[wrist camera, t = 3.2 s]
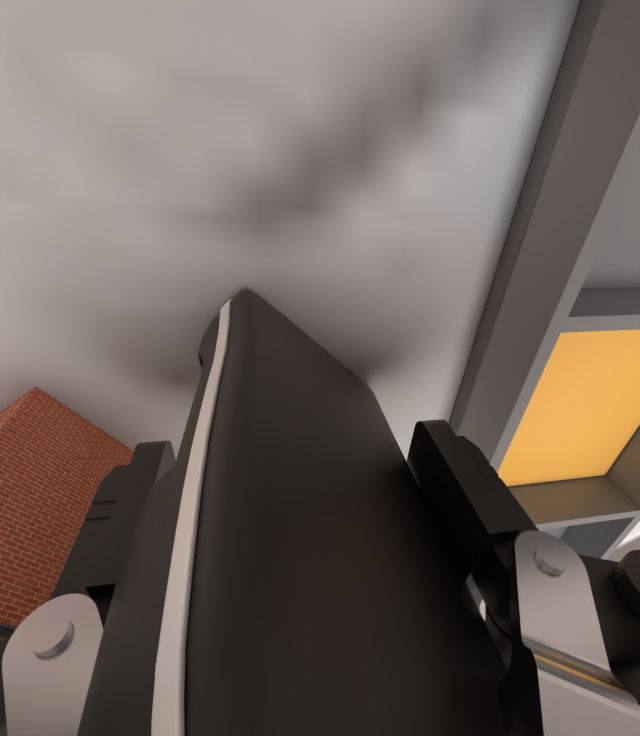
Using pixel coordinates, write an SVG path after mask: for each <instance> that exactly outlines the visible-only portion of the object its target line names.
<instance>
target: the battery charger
mask: <svg viewBox="0 0 640 736" xmlns="http://www.w3.org/2000/svg"><path fill="white" fill-rule="evenodd" d="M198 356H199V361H200V364H201V366H202V373H201V378H200V382H199V385H198V388H197V391H196V395H195V398H194V401H193V404H192V407H191V411H190V414H189V418H188V421H187V425H186V429H185V432H184V435H183V439H182V442H181V446H180V450H179V453H178V457H177V460H176V464H175V465H174V466H173V467H172V468H171V469H170V470H169V471H167V472H166V473H165V474H164V475H163V476H162V477H161V478H160V479H159V480H158V481H157V482H156V483H155V484H154V485H153V486H152V488H151V489H150V490H149V491H148V493H147V494H146V495H145V496H144V498H143V499H142V500H141V503H140V505H139V508H138V512H137V515H136V518H135V521H134V525H133V528H132V531H131V534H130V537H129V541H128V544H127V547H126V550H125V554H124V557H123V560H122V564H121V568H120V571H119V575H118V578H117V582H116V586H115V589H114V593H113V596H112V600H111V604H110V608H109V611H108V615H107V619H106V623H105V627H104V630H103V634H102V638H101V642H100V646H99V649H98V653H97V657H96V661H95V665H94V669H93V673H92V677H91V681H90V685H89V689H88V693H87V697H86V701H85V705H84V709H83V713H82V717H81V721H80V724H79V728H78V734H77V736H506V735H505V732H504V726H503V720H502V714H501V708H500V702H499V696H498V691H497V685H498V683H499V682H500V681H501V680H502V679H503V677H504V676H505V675H506V674H507V672H508V670H507V668H506V666H505V663H504V661H503V659H502V657H501V655H500V653H499V651H498V649H497V646H496V644H495V642H494V640H493V638H492V636H491V634H490V632H489V629H488V627H487V625H486V623H485V621H484V619H483V617H482V615H481V612H480V610H479V608H478V606H477V604H476V602H475V600H474V598H473V596H472V594H471V591H470V589H469V587H468V585H467V583H466V581H465V579H464V577H463V575H462V573H461V571H460V569H459V567H458V565H457V563H456V560H455V558H454V556H453V554H452V552H451V550H450V548H449V546H448V544H447V542H446V540H445V538H444V536H443V534H442V531H441V529H440V527H439V525H438V523H437V521H436V519H435V517H434V515H433V513H432V511H431V509H430V507H429V505H428V503H427V501H426V499H425V497H424V495H423V493H422V491H421V489H420V487H419V485H418V483H417V481H416V479H415V477H414V475H413V473H412V471H411V469H410V467H409V465H408V463H407V461H406V460H405V458H404V456H403V454H402V452H401V450H400V448H399V446H398V444H397V441H396V439H395V437H394V435H393V433H392V431H391V429H390V427H389V425H388V423H387V420H386V418H385V416H384V414H383V412H382V410H381V408H380V405H379V403H378V401H377V399H376V397H375V394H374V392H373V391H372V390H371V389H370V388H369V387H368V386H367V385H365V384H364V383H363V382H362V381H361V380H360V379H358V378H357V377H356V376H355V375H354V374H352V373H351V372H350V371H349V370H348V369H346V368H345V367H344V366H343V365H341V364H340V363H339V362H338V361H337V360H335V359H334V358H333V357H332V356H331V355H329V354H328V353H327V352H326V351H325V350H323V349H322V348H321V347H320V346H319V345H317V344H316V343H315V342H314V341H312V340H311V339H310V338H309V337H307V336H306V335H305V334H304V333H303V332H301V331H300V330H299V329H298V328H296V327H295V326H294V325H293V324H291V323H290V322H289V321H288V320H287V319H285V318H284V317H283V316H282V315H280V314H279V313H278V312H277V311H275V310H274V309H273V308H272V307H270V306H269V305H268V304H267V303H265V302H264V301H263V300H262V299H260V298H259V297H258V296H257V295H255V294H254V293H252V292H251V291H246V290H245V291H242V292H240V293H239V294H238V295H237V296H236V297H235V298H234V299H233V300H231V299H229V300H228V301H227V302H226V304H225V305H224V306H223V307H222V308H221V310H220V314H219V316H218V317H217V318H216V319H215V320H214V321H213V322H212V323H211V325H210V326H209V328H208V330H207V332H206V334H205V336H204V337H203V339H202V342H201V346H200V350H199V354H198Z"/></svg>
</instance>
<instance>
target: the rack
mask: <svg viewBox="0 0 640 736" xmlns="http://www.w3.org/2000/svg"><path fill="white" fill-rule="evenodd" d="M449 426H450V427H451V429H452V430H453V432H454V433H455V434H456V436H464V437H466V438H467V439H468V440H469V441H471V442H472V443H473V444H475V445H476V446H477V447H479V449H480V450H481V451H482V453H483V454H484V455H485V457H486V458H487V460H488V461H489V462H490V466H493V468H494V469H495V471H496V472H497V473H498V475H499V478H501V479H502V480H503V482H504V483H505V484H506V486H507V487H508V489H509V490H510V491H511V493H512V494H513V495H514V497H515V498H516V500H517V501H518V502H519V504H520V505H521V507H522V508H523V509H524V511H525V512H526V513H527V515H528V516H529V518H530V519H531V520H532V522H533V523H534V524H535V526H536V527H537V528H538V529H539V531H542V532H546V533H548V534H551V535H553V536H555V537H557V538H559V539H560V540H562V541H563V542H565V543H566V544H567V545H568V546H570V547H571V548H572V549H573V550H574V551H575V552H576V553H577V554H579V555H583V556H589V557H594V558H599V559H604V560H606V559H607V558H608V557H609V556H610V555H611V554H612V552H613V551H614V550H615V549H616V548H617V547H618V545H619V544H620V543H621V542H622V541H623V540H624V538H625V537H626V536H627V535H628V534H629V533H630V531H631V530H632V529H633V528H634V527H635V526H636V524H637V523H638V522H639V521H640V0H581V3H580V7H579V10H578V13H577V16H576V19H575V23H574V26H573V29H572V32H571V35H570V39H569V42H568V45H567V48H566V51H565V55H564V58H563V61H562V64H561V67H560V70H559V74H558V77H557V80H556V83H555V86H554V90H553V93H552V96H551V99H550V102H549V106H548V109H547V112H546V115H545V118H544V122H543V125H542V128H541V131H540V134H539V138H538V141H537V144H536V147H535V150H534V154H533V157H532V160H531V163H530V166H529V170H528V173H527V176H526V179H525V182H524V186H523V189H522V192H521V195H520V198H519V202H518V205H517V208H516V211H515V214H514V218H513V221H512V224H511V227H510V230H509V234H508V237H507V240H506V243H505V246H504V249H503V253H502V256H501V259H500V262H499V265H498V269H497V272H496V275H495V278H494V281H493V285H492V288H491V291H490V294H489V297H488V301H487V304H486V307H485V310H484V313H483V317H482V320H481V323H480V326H479V329H478V333H477V336H476V339H475V342H474V345H473V349H472V352H471V355H470V358H469V361H468V365H467V368H466V371H465V374H464V377H463V381H462V384H461V387H460V390H459V393H458V397H457V400H456V403H455V406H454V409H453V413H452V416H451V419H450V422H449ZM470 591H471V594H472V596H473V598H474V600H475V602H476V604H477V606H478V608H479V610H480V603H481V600H482V596H481V594H480V592H479V590H478V588H470Z"/></svg>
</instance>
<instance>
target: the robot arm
mask: <svg viewBox="0 0 640 736" xmlns="http://www.w3.org/2000/svg"><path fill="white" fill-rule="evenodd" d="M407 463H408V465H409V467H410V469H411V471H412V473H413V475H414V477H415V479H416V481H417V483H418V485H419V487H420V489H421V491H422V493H423V495H424V497H425V499H426V501H427V503H428V505H429V507H430V509H431V511H432V513H433V515H434V517H435V519H436V521H437V523H438V525H439V527H440V529H441V531H442V534H443V536H444V538H445V540H446V542H447V544H448V546H449V548H450V550H451V552H452V554H453V556H454V558H455V560H456V563H457V565H458V567H459V569H460V571H461V573H462V575H463V577H464V579H465V581H466V583H467V585H468V587H469V589H470V588H478V590H479V592H480V594H481V596H482V600H481V603H480V612H481V615H482V617H483V619H484V621H485V623H486V625H487V627H488V629H489V632H490V634H491V636H492V638H493V640H494V642H495V644H496V646H497V649H498V651H499V653H500V655H501V657H502V659H503V661H504V663H505V666H506V668H507V670H508V672H507V674H506V675H505V676H504V677H503V679H502V680H501V681H500V682H499V683H498V685H497V691H498V696H499V702H500V708H501V714H502V720H503V726H504V732H505V735H506V736H640V550H634V551H630V552H629V553H627V554H626V555H625V556H624V558H623V559H622V560H621V561H620V562H614V561H609V560H604V559H599V558H594V557H589V556H583V555H579V554H577V553H576V552H575V551H574V550H573V549H572V548H571V547H570V546H568V545H567V544H566V543H565V542H563V541H562V540H560V539H559V538H557V537H555V536H553V535H551V534H548V533H546V532H542V531H539V529H538V528H537V527H536V526H535V524H534V523H533V522H532V520H531V519H530V518H529V516H528V515H527V513H526V512H525V511H524V509H523V508H522V507H521V505H520V504H519V502H518V501H517V500H516V498H515V497H514V495H513V494H512V493H511V491H510V490H509V489H508V487H507V486H506V484H505V483H504V482H503V480H502V479H501V478H499V475H498V473H497V472H496V471H495V469H494V468H493V466H490V462H489V461H488V460H487V458H486V457H485V455H484V454H483V453H482V451H481V450H480V449H479V447H477V446H476V445H475V444H473V443H472V442H471V441H469V440H468V439H467V438H466V437H464V436H456V434H455V433H454V432H453V430H452V429H451V427H450V426H449V424H448V423H447V422H446V421H445V420H429V421H418V422H417V423H416V425H415V429H414V433H413V437H412V441H411V445H410V449H409V453H408V458H407ZM175 464H176V460H175V456H174V452H173V448H172V445H171V442H170V441H159V442H146V443H139V444H137V446H136V448H135V450H134V453H133V456H132V459H131V461H130V464H129V465H118V466H115V467H114V468H113V469H112V470H111V471H110V473H109V474H108V475H107V476H106V477H105V478H104V479H103V480H102V481H101V482H100V484H99V486H98V489H97V491H96V493H95V495H94V498H93V500H92V502H91V503H92V505H91V506H90V507H89V509H88V512H87V514H86V516H85V519H84V520H85V522H84V523H82V526H81V528H80V530H79V533H78V535H77V537H76V540H75V542H74V544H73V547H72V549H71V551H70V554H69V556H68V558H67V561H66V563H65V565H64V568H63V570H62V572H61V575H60V577H59V579H58V582H57V584H56V586H55V589H54V591H53V593H52V594H51V596H50V598H49V599H48V601H47V602H46V603H45V604H43V605H41V606H40V607H38V608H37V609H36V610H35V611H33V612H32V613H31V614H30V615H29V616H28V617H27V618H26V619H25V620H24V621H23V622H22V623H21V624H20V625H19V626H18V628H17V629H16V630H15V632H14V633H13V634H12V635H10V636H9V637H7V638H5V639H3V640H1V641H0V736H77V734H78V728H79V724H80V721H81V717H82V713H83V709H84V705H85V701H86V697H87V693H88V689H89V685H90V681H91V677H92V673H93V669H94V665H95V661H96V657H97V653H98V649H99V646H100V642H101V638H102V634H103V630H104V627H105V623H106V619H107V615H108V611H109V608H110V604H111V600H112V596H113V593H114V589H115V586H116V582H117V578H118V575H119V571H120V568H121V564H122V560H123V557H124V554H125V550H126V547H127V544H128V541H129V537H130V534H131V531H132V528H133V525H134V521H135V518H136V515H137V512H138V508H139V505H140V503H141V500H142V499H143V498H144V496H145V495H146V494H147V493H148V491H149V490H150V489H151V488H152V486H153V485H154V484H155V483H156V482H157V481H158V480H159V479H160V478H161V477H162V476H163V475H164V474H165V473H166V472H167V471H169V470H170V469H171V468H172V467H173V466H174V465H175Z"/></svg>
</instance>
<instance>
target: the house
mask: <svg viewBox="0 0 640 736" xmlns="http://www.w3.org/2000/svg"><path fill="white" fill-rule="evenodd" d="M133 453H134V452H133V451H132V450H130V449H129V448H127V447H126V446H124V445H123V444H121V443H120V442H118V441H117V440H115V439H114V438H112V437H111V436H109V435H108V434H106V433H105V432H103V431H102V430H100V429H99V428H97V427H96V426H94V425H93V424H91V423H90V422H88V421H87V420H85V419H84V418H82V417H81V416H79V415H78V414H76V413H75V412H73V411H72V410H70V409H69V408H67V407H66V406H64V405H63V404H61V403H60V402H58V401H57V400H55V399H54V398H52V397H51V396H49V395H47V394H46V393H44V392H43V391H41V390H40V389H38V388H37V387H35V388H33V389H32V390H31V391H29V392H28V393H27V394H25V395H24V396H23V397H21V398H20V399H19V400H17V401H16V402H15V403H13V404H12V405H11V406H9V407H8V408H7V409H5V410H4V411H3V412H1V413H0V641H1V640H3V639H5V638H7V637H9V636H10V635H12V634H13V633H14V632H15V630H16V629H17V628H18V626H19V625H20V624H21V623H22V622H23V621H24V620H25V619H26V618H27V617H28V616H29V615H30V614H31V613H32V612H33V611H35V610H36V609H37V608H38V607H40V606H41V605H43V604H45V603H46V602H47V601H48V599H49V598H50V596H51V594H52V593H53V591H54V589H55V586H56V584H57V582H58V579H59V577H60V575H61V572H62V570H63V568H64V565H65V563H66V561H67V558H68V556H69V554H70V551H71V549H72V547H73V544H74V542H75V540H76V537H77V535H78V533H79V530H80V528H81V526H82V523H84V522H85V520H84V519H85V516H86V514H87V512H88V509H89V507H90V506H91V505H92V503H91V502H92V500H93V498H94V495H95V493H96V491H97V489H98V486H99V484H100V482H101V481H102V480H103V479H104V478H105V477H106V476H107V475H108V474H109V473H110V471H111V470H112V469H113V468H114V467H115V466H118V465H129V464H130V461H131V459H132V456H133Z"/></svg>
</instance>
